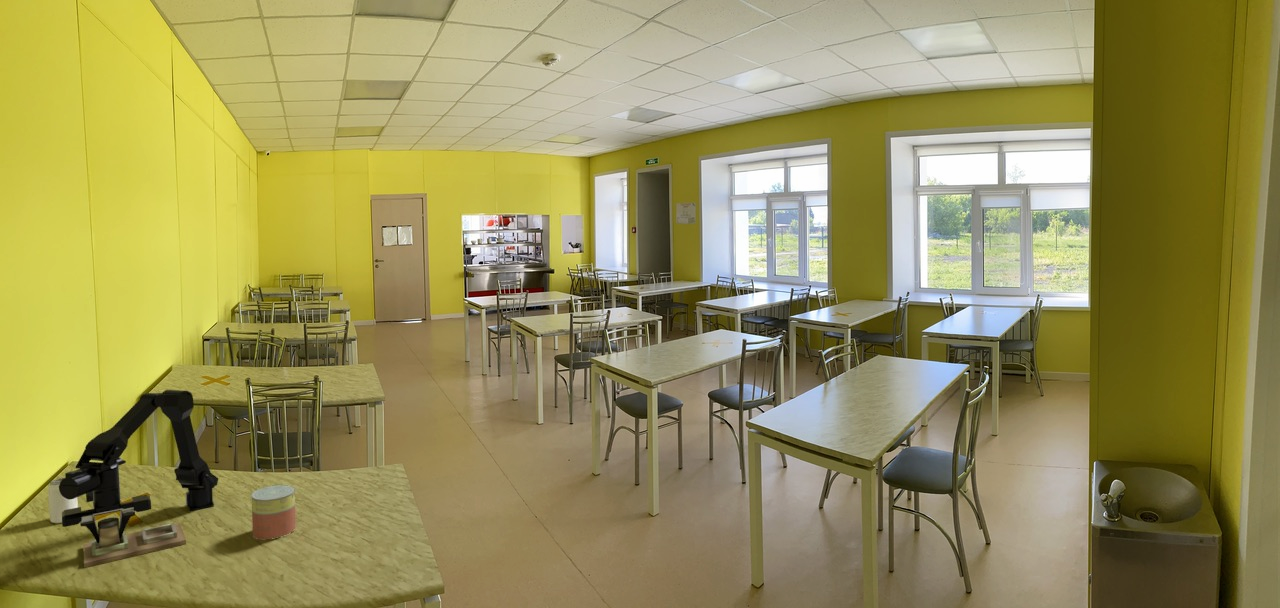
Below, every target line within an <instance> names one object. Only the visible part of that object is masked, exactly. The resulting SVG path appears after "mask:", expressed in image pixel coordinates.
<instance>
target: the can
mask: <svg viewBox="0 0 1280 608" xmlns="http://www.w3.org/2000/svg"><path fill="white" fill-rule="evenodd" d="M64 478H65V477H61V478H57V479H53V480H51V481H50V482H49V485H48V488H47V494H48V496H47V497H48V509H49V520H50V522H51V523H52V524H62V512H63V511H64V510H67V509H73V508H78V507H79V502H78V497H77V498H74V499H66V498H64V497H63V496H62V495H61V493H60V491H59V485H60V482H61V481H62V480H63V479H64Z"/></svg>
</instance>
